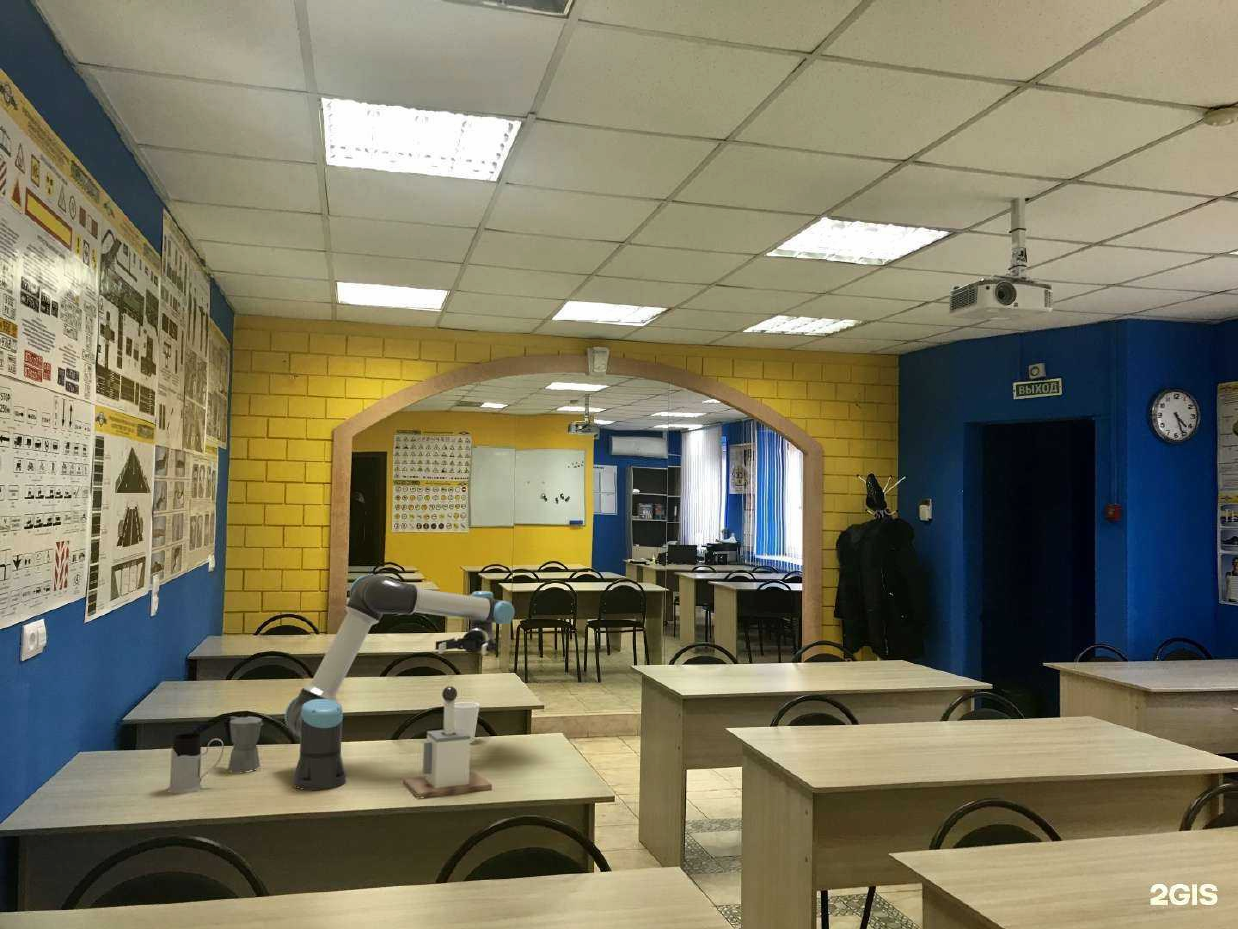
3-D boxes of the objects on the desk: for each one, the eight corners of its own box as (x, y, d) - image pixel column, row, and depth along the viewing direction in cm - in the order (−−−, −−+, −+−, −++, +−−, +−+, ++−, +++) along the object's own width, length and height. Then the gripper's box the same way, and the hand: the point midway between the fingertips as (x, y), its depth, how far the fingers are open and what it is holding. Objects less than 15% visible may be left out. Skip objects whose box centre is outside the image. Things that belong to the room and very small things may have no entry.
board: (417, 799, 259) (417, 793, 259) (402, 784, 273) (402, 779, 274) (491, 789, 270) (491, 784, 270) (473, 775, 284) (473, 770, 284)
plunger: (439, 780, 267) (442, 689, 268) (432, 774, 273) (434, 685, 275) (462, 778, 270) (465, 687, 272) (454, 771, 276) (457, 683, 278)
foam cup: (481, 739, 329) (482, 702, 330) (474, 745, 320) (475, 708, 321) (455, 738, 330) (456, 701, 331) (447, 744, 321) (449, 706, 322)
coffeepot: (271, 768, 287) (273, 710, 288) (248, 776, 279) (251, 715, 280) (234, 762, 293) (236, 705, 294) (210, 769, 285) (213, 710, 286)
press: (428, 789, 264) (429, 739, 265) (418, 780, 273) (419, 732, 273) (468, 784, 270) (470, 735, 270) (458, 775, 278) (459, 728, 279)
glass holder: (169, 786, 267) (171, 733, 268) (222, 782, 272) (224, 730, 273) (166, 795, 259) (168, 740, 259) (221, 790, 264) (223, 737, 264)
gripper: (511, 653, 308) (500, 663, 287) (438, 651, 309) (421, 660, 288) (512, 630, 309) (501, 638, 287) (438, 628, 310) (422, 636, 289)
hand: (461, 649), depth 288 cm, fingers open, 13 cm apart
